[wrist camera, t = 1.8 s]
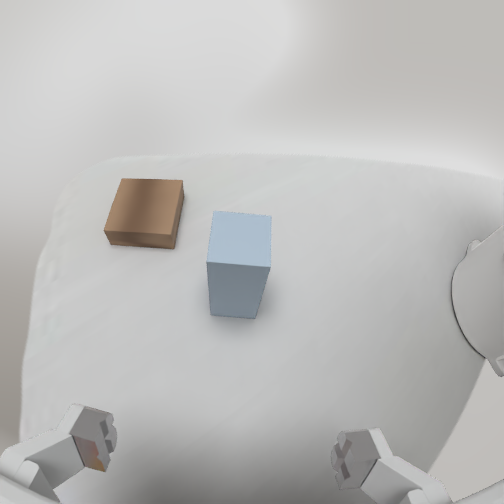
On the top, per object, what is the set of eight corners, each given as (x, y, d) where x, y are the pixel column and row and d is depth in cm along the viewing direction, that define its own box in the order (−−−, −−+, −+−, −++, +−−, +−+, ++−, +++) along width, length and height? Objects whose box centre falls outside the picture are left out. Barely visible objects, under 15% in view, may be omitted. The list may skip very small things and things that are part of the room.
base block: (184, 198, 35) (182, 180, 33) (174, 250, 32) (170, 234, 29) (127, 195, 35) (121, 178, 32) (111, 246, 31) (103, 230, 29)
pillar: (256, 279, 30) (271, 215, 22) (254, 318, 28) (270, 266, 20) (215, 275, 30) (213, 210, 22) (210, 315, 28) (206, 261, 20)
